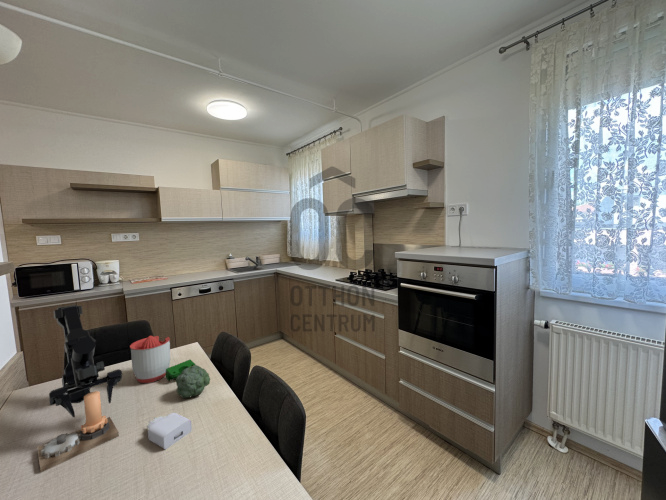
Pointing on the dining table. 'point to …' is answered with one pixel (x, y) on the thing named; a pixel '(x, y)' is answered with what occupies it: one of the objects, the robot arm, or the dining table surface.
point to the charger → (168, 429)
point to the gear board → (77, 448)
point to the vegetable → (192, 381)
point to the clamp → (177, 369)
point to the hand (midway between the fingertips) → (92, 409)
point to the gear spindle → (93, 413)
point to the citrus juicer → (150, 358)
